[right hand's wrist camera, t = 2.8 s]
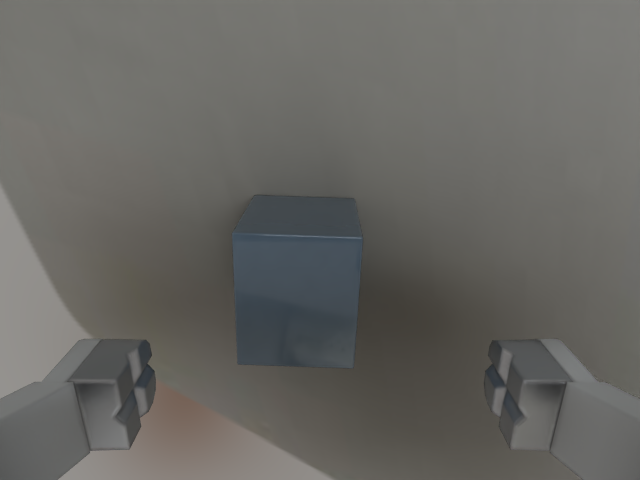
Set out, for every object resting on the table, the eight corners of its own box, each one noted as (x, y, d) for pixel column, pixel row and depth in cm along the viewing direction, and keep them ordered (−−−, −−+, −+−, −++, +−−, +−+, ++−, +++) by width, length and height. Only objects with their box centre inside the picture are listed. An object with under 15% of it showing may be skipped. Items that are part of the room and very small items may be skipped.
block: (254, 194, 18) (231, 232, 14) (355, 197, 18) (363, 237, 14) (256, 301, 19) (237, 365, 15) (348, 305, 19) (354, 369, 15)
